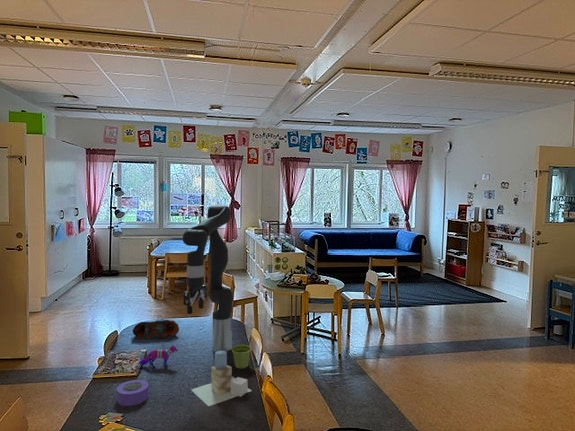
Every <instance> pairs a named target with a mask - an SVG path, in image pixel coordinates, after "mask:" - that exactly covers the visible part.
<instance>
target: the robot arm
mask: <svg viewBox="0 0 575 431" xmlns="http://www.w3.org/2000/svg"><path fill="white" fill-rule="evenodd" d="M231 211H232V210H231V208H230V207H229V206H228V205H210V206H209V207H208V208H207V214H206V216H207V218H206V219H204V220H202V221H200V222H199V224H197V225H195V226H192V227H190V228H188V229H186V230H185V231H184V233H183V234H182V242H183V244H185V245H186V246H188V247H189V246H191V247H197V248H196V250H192V251H191V250H190V251H188V252H187V254H186V256H187V257H186V286H187V287H188V290H187V291H186V290H184V291H183V306H186V313H187V315H192V314H193V313H194V312H193V304H194V302H196V299H198V309H204V306H205V304H204V302H205V299H207V297H208V296H209V300H210V301H211V302H212V303H214V304H215V305H216V304H217V306H218V307H217V309H215V310H214V311H213V312H212V345H211V346H212V352H214V353H215V352H217V351H226V352H227V353H228V352H230V351H231V349H232V348H233V331H232V330H231V317H232V316H231V315H232V314H231V313H232V312H233V299H234V298H233V291H232V289H231V288H230V287H229V288H228V287H227V286H223V274H224V272H225V269H226V268H227V266H228V262H229V249H228V246H227V245H226V243H225V241H224V240H223V238H222V237H221V234H220V232H219V228H221V227H222V226H224V225H226V224H228V223H229V222H230V220H231V217H232V212H231ZM208 239H209V264H210V266H209V267H210V272H209V274H210V276H209V277H210V278H209V280H210V281H209V290H207V289H208V287H207V285H206V284H205V267H204V266H205V264H204V262H205V261H204V260H205V258H204V257H205V256H204V255H205V251H206V247H207V243H208ZM208 291H209V292H208ZM208 294H209V295H208Z"/></svg>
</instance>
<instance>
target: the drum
mask: <svg viewBox="0 0 575 431" xmlns="http://www.w3.org/2000/svg"><path fill="white" fill-rule="evenodd" d="M227 355H228V351H227V352H226V351H217V352H214V366H215V368H216V369H219V370H222V369H225V368H226V367H227V365H228V356H227Z"/></svg>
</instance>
